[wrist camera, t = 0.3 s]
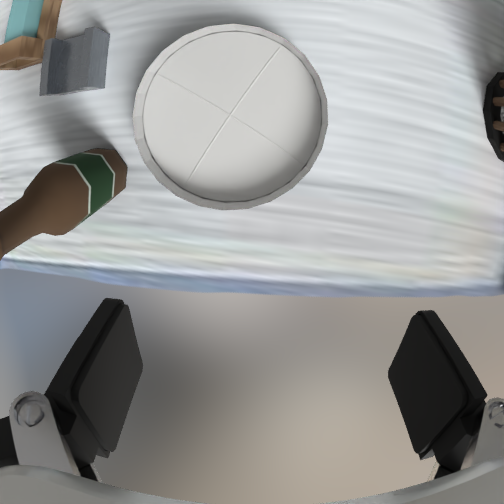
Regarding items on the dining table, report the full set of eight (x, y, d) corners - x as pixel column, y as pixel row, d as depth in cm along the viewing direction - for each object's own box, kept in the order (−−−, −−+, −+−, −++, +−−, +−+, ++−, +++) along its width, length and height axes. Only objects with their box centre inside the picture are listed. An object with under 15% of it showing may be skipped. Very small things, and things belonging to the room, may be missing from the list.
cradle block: (64, 44, 28) (45, 40, 24) (111, 34, 28) (94, 26, 24) (60, 95, 32) (39, 95, 27) (106, 88, 32) (87, 86, 27)
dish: (354, 98, 33) (367, 97, 28) (255, 230, 41) (255, 246, 37) (207, 6, 28) (200, -8, 23) (117, 146, 36) (101, 151, 31)
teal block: (32, -10, 21) (17, -15, 17) (50, -18, 21) (36, -24, 17) (19, 55, 26) (2, 54, 23) (37, 49, 26) (20, 46, 23)
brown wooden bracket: (31, -4, 23) (2, -13, 16) (66, -19, 23) (38, -32, 16) (18, 70, 29) (-15, 70, 22) (52, 59, 29) (18, 56, 22)
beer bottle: (75, 183, 38) (-45, 258, 16) (96, 136, 35) (-41, 182, 13) (115, 209, 40) (9, 309, 18) (139, 163, 37) (18, 235, 15)
